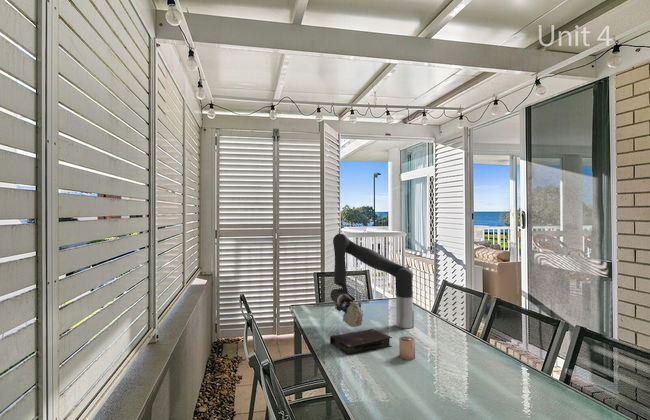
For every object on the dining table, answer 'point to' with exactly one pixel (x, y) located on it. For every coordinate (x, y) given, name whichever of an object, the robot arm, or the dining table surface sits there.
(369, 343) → the diary
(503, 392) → the dining table surface
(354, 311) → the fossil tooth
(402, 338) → the peach glossy cylinder
